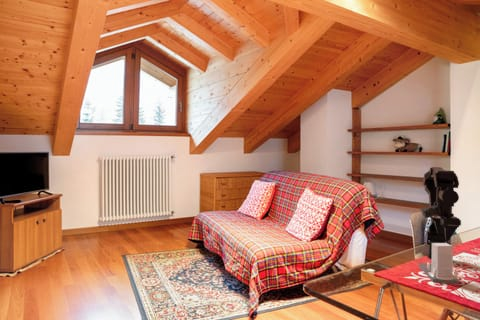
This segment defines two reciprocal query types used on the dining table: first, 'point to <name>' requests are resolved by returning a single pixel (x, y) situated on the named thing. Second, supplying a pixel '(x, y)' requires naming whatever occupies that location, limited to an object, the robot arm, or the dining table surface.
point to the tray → (433, 277)
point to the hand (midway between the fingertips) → (443, 237)
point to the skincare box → (442, 259)
